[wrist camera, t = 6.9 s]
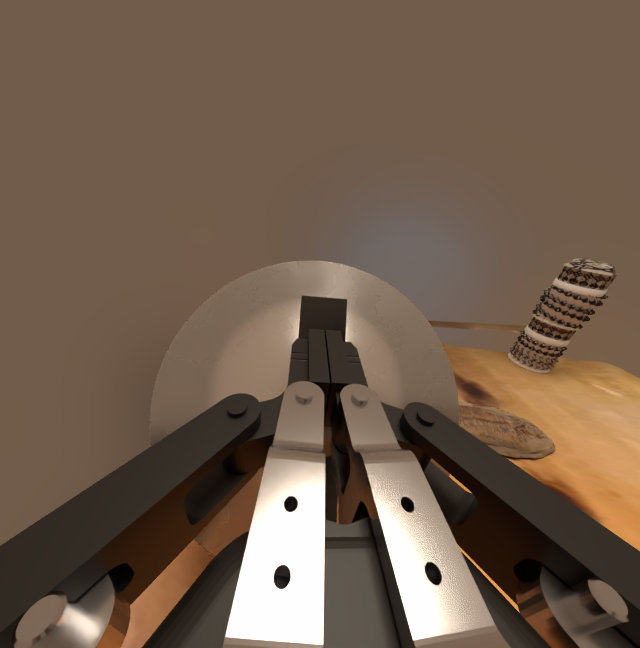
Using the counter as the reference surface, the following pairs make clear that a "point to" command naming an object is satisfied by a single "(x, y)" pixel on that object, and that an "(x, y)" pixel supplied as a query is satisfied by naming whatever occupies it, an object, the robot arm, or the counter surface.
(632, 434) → the counter surface
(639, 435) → the counter surface
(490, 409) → the fish fossil
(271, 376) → the cooker lid
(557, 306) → the decorative candle
